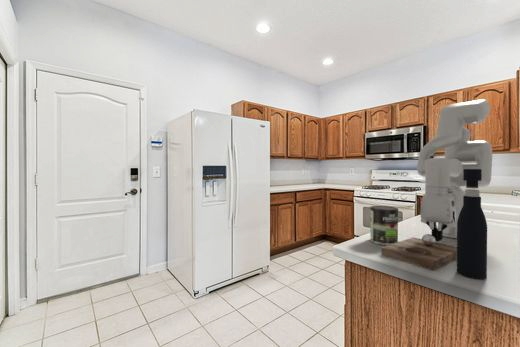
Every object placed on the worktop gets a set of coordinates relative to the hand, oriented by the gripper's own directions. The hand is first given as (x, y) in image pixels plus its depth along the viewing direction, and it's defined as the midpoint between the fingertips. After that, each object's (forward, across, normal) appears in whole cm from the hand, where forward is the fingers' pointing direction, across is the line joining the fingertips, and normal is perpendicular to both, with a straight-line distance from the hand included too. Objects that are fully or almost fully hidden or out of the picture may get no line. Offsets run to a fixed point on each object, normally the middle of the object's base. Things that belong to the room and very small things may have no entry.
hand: (436, 240), depth 90 cm
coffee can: (+4, +16, +8) cm, 18 cm away
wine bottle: (+4, -15, +17) cm, 23 cm away
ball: (-1, 0, +7) cm, 7 cm away
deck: (+3, 0, +12) cm, 12 cm away
